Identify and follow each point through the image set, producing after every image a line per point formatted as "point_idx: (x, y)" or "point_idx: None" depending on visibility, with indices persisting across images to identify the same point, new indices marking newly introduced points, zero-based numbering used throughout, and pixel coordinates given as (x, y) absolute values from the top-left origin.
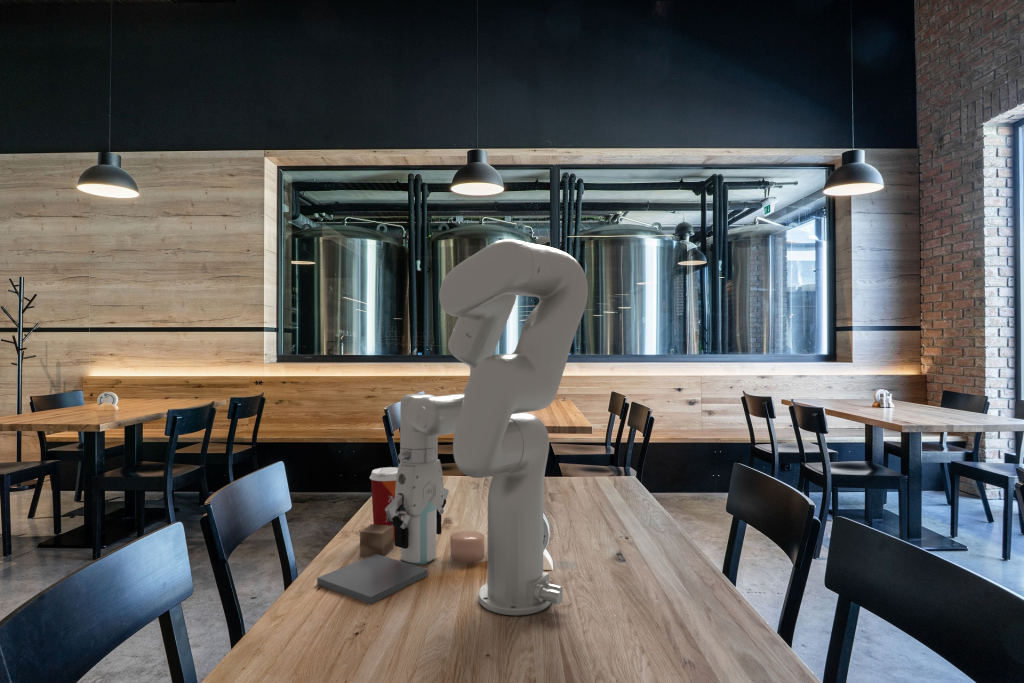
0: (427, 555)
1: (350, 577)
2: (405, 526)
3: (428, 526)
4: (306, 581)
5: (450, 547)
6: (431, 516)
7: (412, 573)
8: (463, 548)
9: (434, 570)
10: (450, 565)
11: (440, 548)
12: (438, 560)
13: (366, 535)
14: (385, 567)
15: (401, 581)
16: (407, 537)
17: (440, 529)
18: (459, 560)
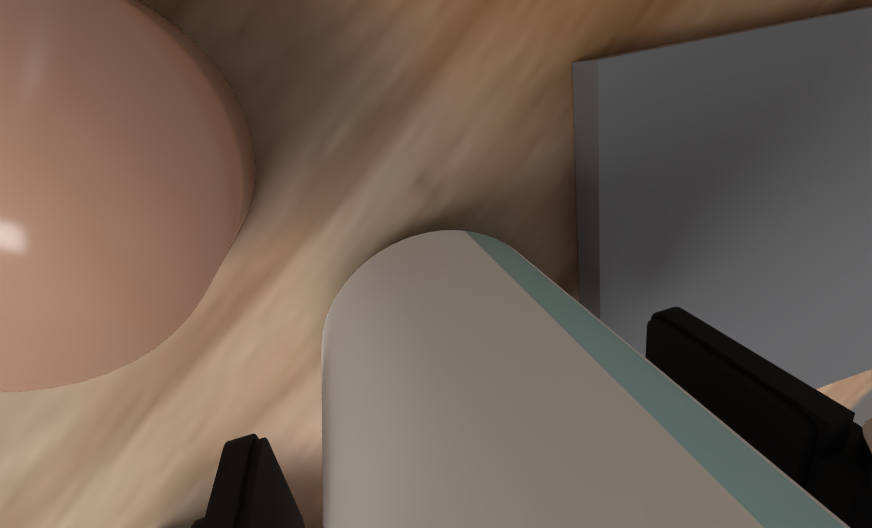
0: (473, 243)
1: (858, 279)
2: (870, 441)
3: (594, 381)
4: (851, 391)
5: (225, 256)
6: (632, 516)
7: (702, 80)
8: (171, 50)
9: (484, 105)
10: (341, 90)
11: (208, 404)
12: (352, 235)
13: None
14: (705, 281)
15: (822, 23)
16: (738, 352)
17: (232, 469)
18: (231, 96)
